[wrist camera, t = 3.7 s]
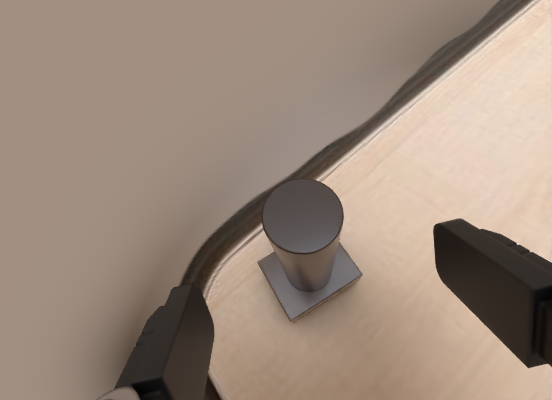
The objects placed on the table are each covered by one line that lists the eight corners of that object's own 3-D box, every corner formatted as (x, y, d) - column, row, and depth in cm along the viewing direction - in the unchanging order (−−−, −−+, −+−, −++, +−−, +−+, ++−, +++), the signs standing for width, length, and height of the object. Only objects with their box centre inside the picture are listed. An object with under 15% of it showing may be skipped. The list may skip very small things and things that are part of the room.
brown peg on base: (293, 323, 20) (267, 306, 9) (264, 270, 21) (213, 205, 11) (357, 282, 20) (400, 222, 10) (323, 234, 22) (329, 139, 11)
